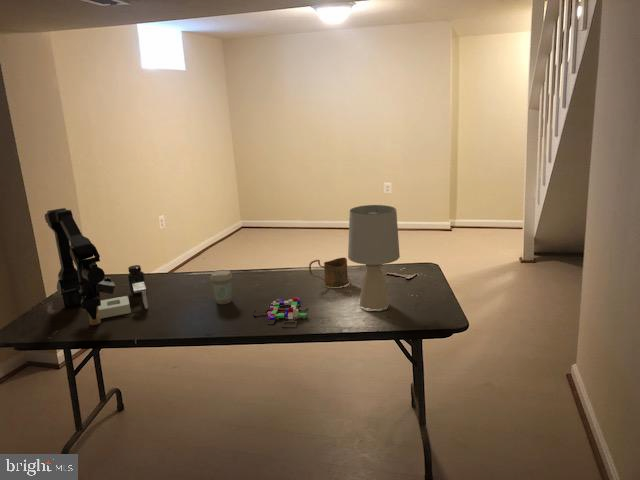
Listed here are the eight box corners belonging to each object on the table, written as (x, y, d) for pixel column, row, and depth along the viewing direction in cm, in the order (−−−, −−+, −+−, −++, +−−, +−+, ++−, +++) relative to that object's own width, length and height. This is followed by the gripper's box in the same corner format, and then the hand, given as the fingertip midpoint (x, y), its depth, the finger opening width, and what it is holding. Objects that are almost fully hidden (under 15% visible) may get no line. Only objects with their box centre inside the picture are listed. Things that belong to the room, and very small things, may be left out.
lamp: (398, 317, 180) (398, 215, 170) (346, 315, 184) (342, 215, 174) (401, 297, 197) (400, 204, 187) (353, 296, 201) (350, 204, 191)
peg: (90, 325, 185) (86, 305, 182) (90, 322, 188) (86, 301, 186) (101, 323, 186) (97, 303, 184) (100, 320, 189) (97, 300, 187)
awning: (137, 311, 197) (133, 290, 194) (135, 303, 205) (132, 283, 202) (148, 308, 198) (145, 288, 196) (146, 301, 206) (143, 281, 204)
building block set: (259, 301, 202) (258, 291, 200) (311, 301, 200) (310, 290, 199) (246, 329, 178) (245, 317, 176) (304, 329, 176) (304, 317, 175)
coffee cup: (208, 303, 200) (205, 275, 197) (222, 296, 208) (219, 268, 204) (225, 307, 196) (222, 277, 193) (239, 299, 204) (236, 270, 201)
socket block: (99, 318, 191) (98, 310, 190) (99, 309, 200) (97, 301, 199) (130, 312, 195) (129, 304, 194) (129, 303, 204) (127, 295, 203)
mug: (305, 285, 216) (303, 258, 213) (342, 277, 223) (341, 251, 220) (316, 293, 206) (315, 265, 202) (354, 285, 213) (354, 258, 209)
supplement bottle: (149, 290, 218) (145, 264, 214) (142, 296, 211) (138, 269, 208) (134, 290, 218) (130, 264, 215) (127, 296, 212) (122, 269, 209)
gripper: (112, 280, 177) (119, 322, 181) (110, 266, 193) (116, 304, 198) (77, 286, 173) (85, 328, 177) (78, 271, 189) (85, 309, 193)
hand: (94, 317), depth 186 cm, fingers closed on peg, 4 cm apart
